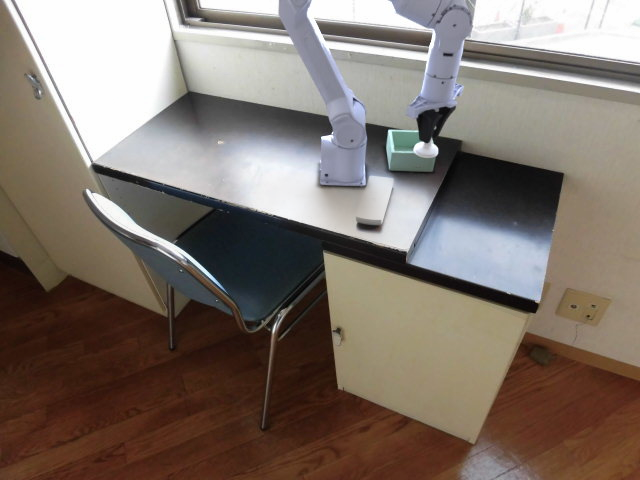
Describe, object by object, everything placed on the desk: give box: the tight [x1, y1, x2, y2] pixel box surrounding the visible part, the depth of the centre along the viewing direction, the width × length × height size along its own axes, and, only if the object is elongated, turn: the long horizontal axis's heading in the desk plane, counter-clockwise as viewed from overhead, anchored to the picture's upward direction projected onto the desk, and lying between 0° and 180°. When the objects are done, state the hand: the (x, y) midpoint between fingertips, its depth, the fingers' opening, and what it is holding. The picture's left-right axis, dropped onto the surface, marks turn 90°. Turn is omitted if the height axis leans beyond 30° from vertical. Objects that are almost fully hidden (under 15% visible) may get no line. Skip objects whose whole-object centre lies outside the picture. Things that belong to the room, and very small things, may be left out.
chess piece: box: [414, 108, 439, 158], centre depth 92 cm, size 5×5×10 cm
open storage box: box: [385, 129, 437, 173], centre depth 105 cm, size 9×9×5 cm
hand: (428, 138), depth 94 cm, fingers closed on chess piece
